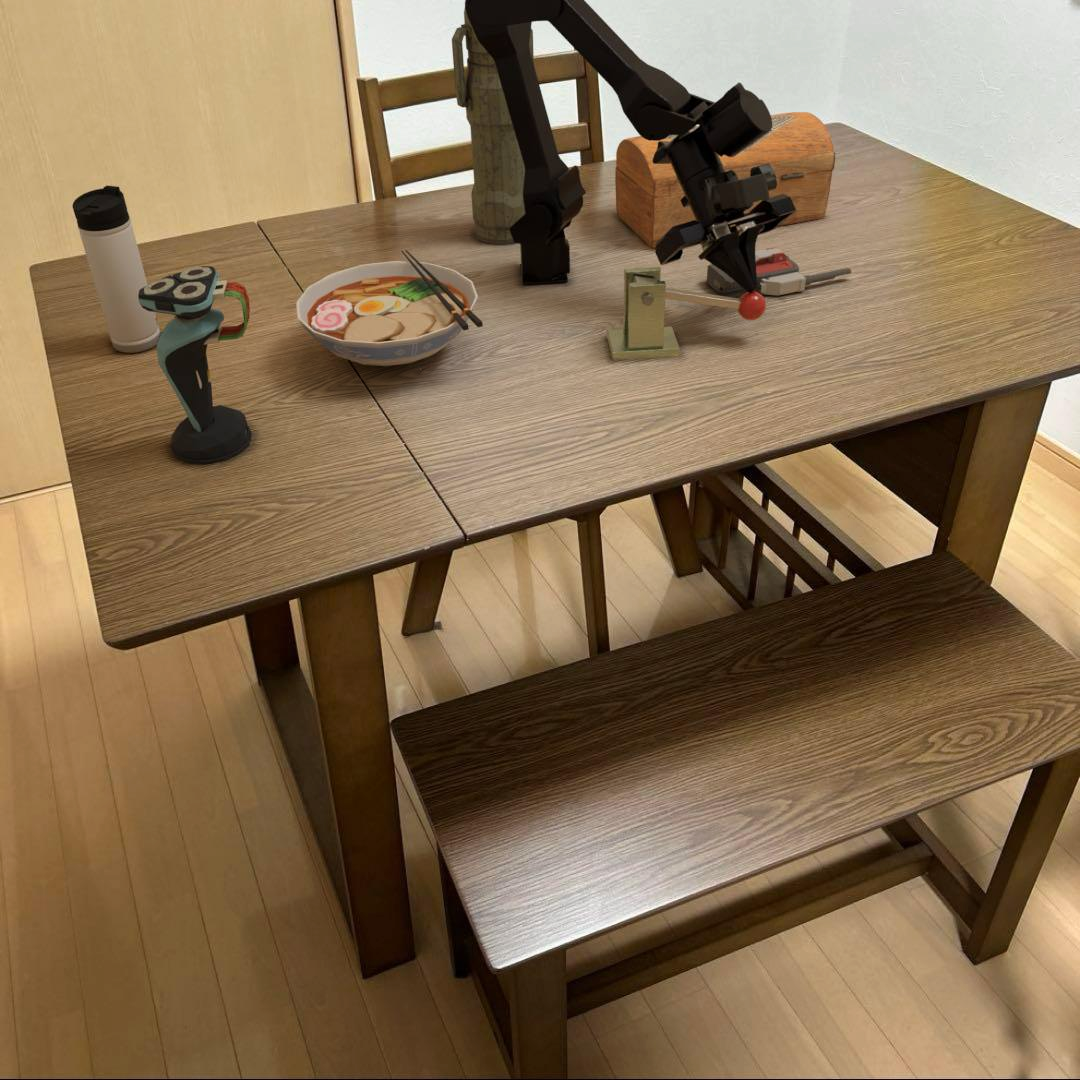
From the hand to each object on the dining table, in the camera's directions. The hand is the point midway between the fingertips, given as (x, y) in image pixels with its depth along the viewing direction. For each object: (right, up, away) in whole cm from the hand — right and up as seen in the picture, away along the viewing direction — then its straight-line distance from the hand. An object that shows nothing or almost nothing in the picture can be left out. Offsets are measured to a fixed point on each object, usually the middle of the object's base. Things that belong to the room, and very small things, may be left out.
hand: (753, 290), depth 141 cm
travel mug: (-80, -5, +9) cm, 81 cm away
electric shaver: (-63, -20, -11) cm, 67 cm away
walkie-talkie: (+6, +5, +17) cm, 19 cm away
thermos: (-32, +16, +34) cm, 50 cm away
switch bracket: (-13, -6, +4) cm, 15 cm away
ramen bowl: (-46, -7, +5) cm, 46 cm away
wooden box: (+1, +20, +37) cm, 42 cm away
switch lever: (-7, -2, +1) cm, 7 cm away
